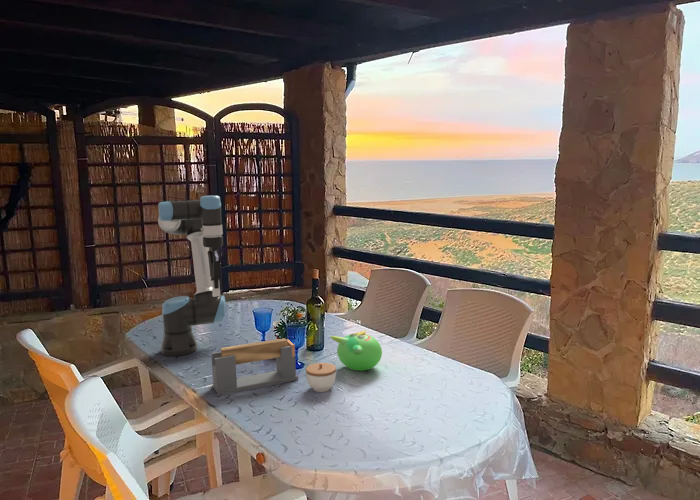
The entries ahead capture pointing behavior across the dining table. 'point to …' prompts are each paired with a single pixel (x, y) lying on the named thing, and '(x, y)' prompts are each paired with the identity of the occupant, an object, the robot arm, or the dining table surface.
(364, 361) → the toy bird
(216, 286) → the robot arm
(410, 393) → the dining table surface
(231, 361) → the stand
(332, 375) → the lidded jar
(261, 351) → the slat
